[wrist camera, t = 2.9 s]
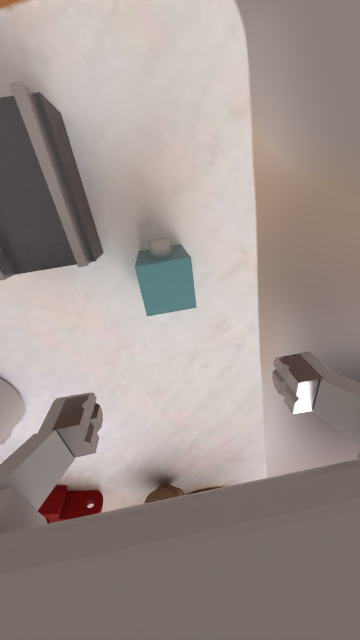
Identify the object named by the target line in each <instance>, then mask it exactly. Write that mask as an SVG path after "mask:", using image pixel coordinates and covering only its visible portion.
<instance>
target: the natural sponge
mask: <svg viewBox="0 0 360 640" xmlns="http://www.w3.org/2000/svg"><path fill="white" fill-rule="evenodd" d="M184 495H185V494H184V492H183V491H182V490H181V489H179V488H176V487H174V486H172V485H170V484H162V485H160V486H159V487H158V488H157V490H155V491H153V492H151V493H150V494H149V495H148V496H147V498H146V500H145V503H150V502H155V501H160V500H165V499H169V498H174V497H179V496H184ZM145 503H144V504H145Z"/></svg>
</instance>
